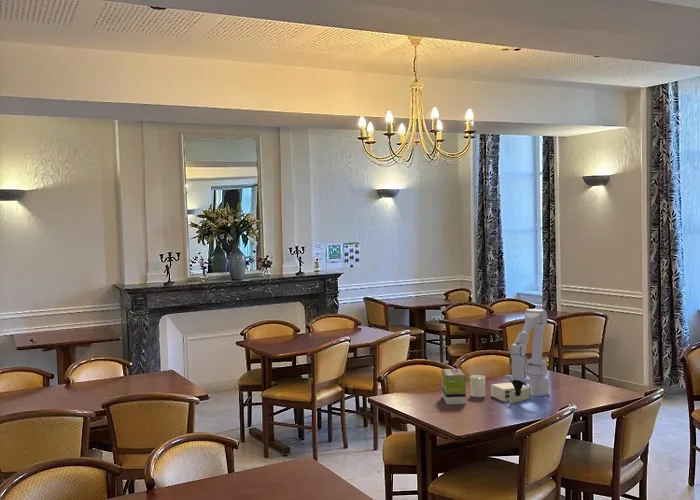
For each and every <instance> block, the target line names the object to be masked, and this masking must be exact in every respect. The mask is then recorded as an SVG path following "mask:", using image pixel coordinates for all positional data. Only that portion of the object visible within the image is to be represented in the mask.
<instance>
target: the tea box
mask: <svg viewBox="0 0 700 500" xmlns="http://www.w3.org/2000/svg"><path fill="white" fill-rule="evenodd" d="M441 389H442V390H441V392H442V395H441V396H442V398H443V400H444V403H446V405H466V404H467V390H466V374H465V373H464V372H463V371H462V369H461V368H444V369H443V368H442V369H441Z"/></svg>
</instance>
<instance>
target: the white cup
mask: <svg viewBox="0 0 700 500" xmlns="http://www.w3.org/2000/svg"><path fill="white" fill-rule="evenodd" d="M486 380H487V379H486V375H483V374H472V375H470V376H469V381H470V383H469V384H470V391H471V397H474V398H484V397H485V395H486V394H485V393H486Z"/></svg>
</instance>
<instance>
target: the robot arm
mask: <svg viewBox="0 0 700 500" xmlns="http://www.w3.org/2000/svg"><path fill="white" fill-rule="evenodd" d="M524 320H525V321H524V324H523V328H522V330H521V331H520V332H519V333H518V334H517V336H516V338H515V341H514V343H512V344H511V345H510V347H509V352H510V354H511V359H512V375H510V374H505V375H504V378H505V380H509V381H510V380H514V381H513V382H512V381H511V382H512V384H513V386H514V388H515V392H516V396H520V395H521V388H522V386H523V385H524V384H528V387H530V396H533V397H542V396H550V394H551V393H550V382H549V379H548V377H547V375H548V365H547V362H546V361H545V360H544V359H543V358H542V357H543V345H544V333H545V332H544V331H545V327H546V326H547V323H548V313H547V311H546V309H533V308H527V309H526V310H525V311H524ZM532 330H533V335H532V336H533V337H532V352H531V358H529V359H528V360H527V365H526V369H525V371H526V374H527V378H525V377H524V355H525V354H526V355H527V353H526V352H527V348H528V346H527V345H528V343H529V340H530V338H531V337H530V336H531V335H530V333H531V331H532ZM524 382H525V383H524Z"/></svg>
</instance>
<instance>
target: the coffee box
mask: <svg viewBox="0 0 700 500" xmlns="http://www.w3.org/2000/svg"><path fill="white" fill-rule="evenodd" d="M508 352H509V375H512V359H511V354H510V351H508ZM527 359H528V355H527V353H526V354H525V355H524V377H525V378H528V375H527V374H526V371H525V369H526V365H527V361H528V360H527ZM509 381H510V382H513V381H514V380H510V379H509ZM524 384H526V383H525V382H524Z"/></svg>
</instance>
